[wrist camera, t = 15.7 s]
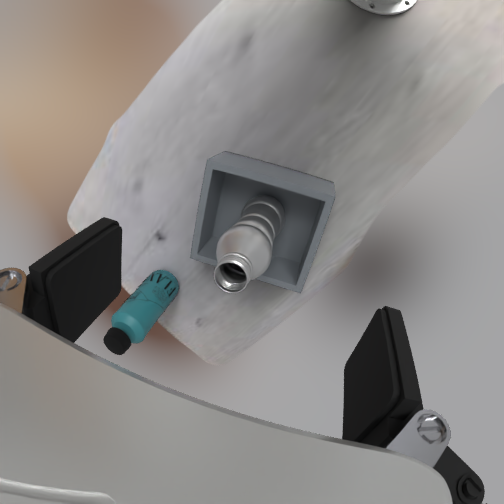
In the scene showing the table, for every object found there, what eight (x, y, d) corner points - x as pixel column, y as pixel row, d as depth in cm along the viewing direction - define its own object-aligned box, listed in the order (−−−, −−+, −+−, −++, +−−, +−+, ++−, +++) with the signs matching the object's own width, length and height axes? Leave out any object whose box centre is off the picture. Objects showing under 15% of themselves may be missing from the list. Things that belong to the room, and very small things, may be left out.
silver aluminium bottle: (240, 223, 51) (193, 291, 33) (253, 184, 47) (208, 236, 30) (278, 238, 50) (251, 315, 33) (293, 200, 47) (272, 262, 29)
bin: (225, 151, 47) (207, 159, 40) (333, 182, 45) (335, 196, 38) (207, 236, 54) (190, 258, 47) (304, 267, 53) (300, 293, 46)
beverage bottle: (189, 281, 59) (138, 352, 41) (171, 299, 62) (122, 368, 44) (163, 258, 58) (104, 321, 40) (147, 277, 61) (90, 340, 43)
